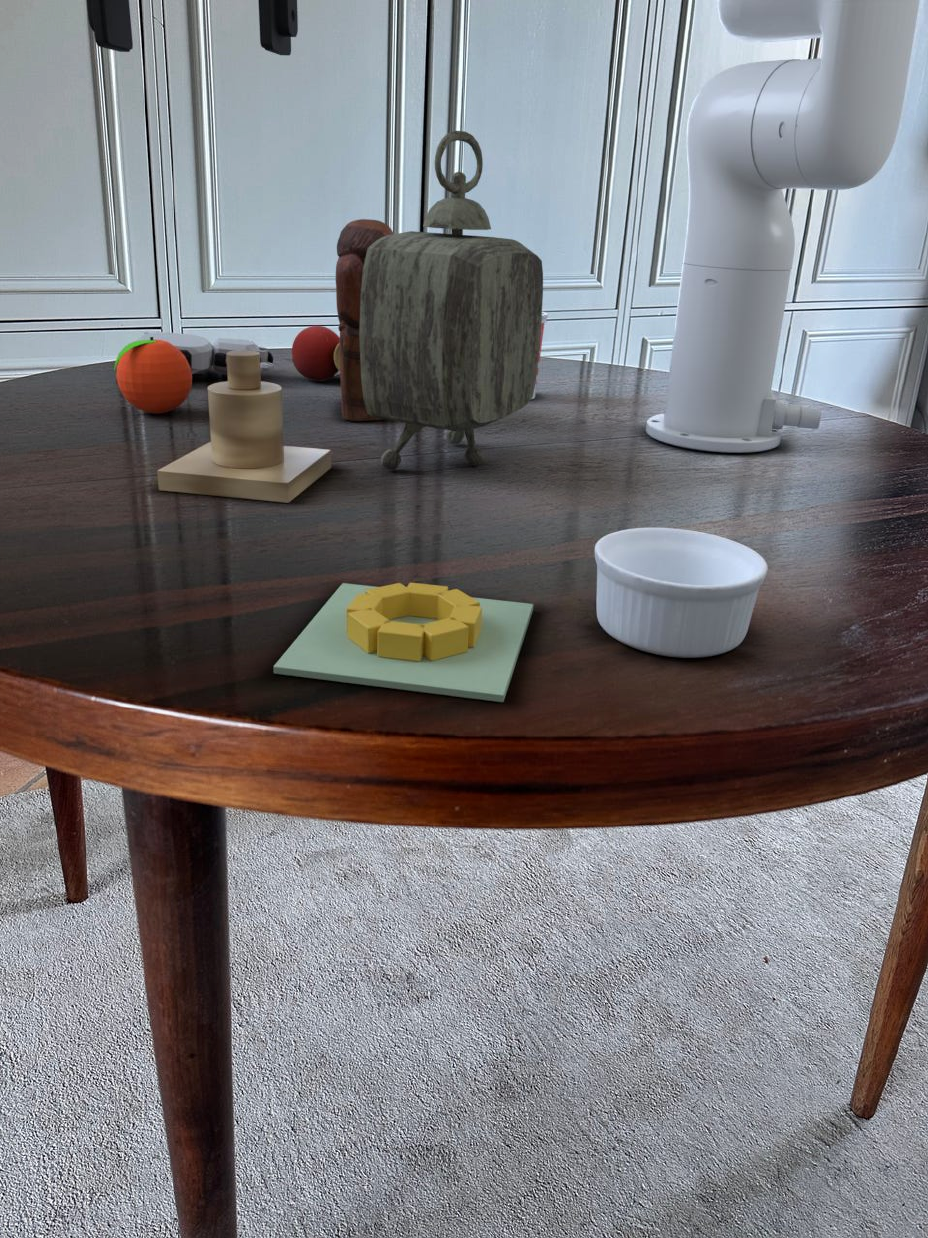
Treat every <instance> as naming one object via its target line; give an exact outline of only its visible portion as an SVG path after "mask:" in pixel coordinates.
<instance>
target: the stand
mask: <svg viewBox="0 0 928 1238" xmlns="http://www.w3.org/2000/svg"><path fill="white" fill-rule="evenodd" d="M226 356H227V374H228V375H227V380H226V381H220V382H215V383H212V384H210V385H208V386H207V388H206V389H207V402H208V403H207V404H208V405H207V406H208V417H209V418H208V419H209V433H210V441H208V442H206V443H204V444H202V445H201V446H199V447H198V448H196V449H194V450H191V452H189V453H187V454H185V455H183V456H181V457H179V458H178V459H176V460H174V461H172V462H170V463H169V464H167V465H164V466H163V467H161V468H158V470H157V471H156V472H157V473H156V474H157V485H158V490H159V491H163V492H172V493H174V492H175V493H183V494H194V495H205V496H213V497H223V498H232V499H233V498H234V499H243V500H244V499H245V500H255V501H263V502H275V503H287V504H289V503H290V502H291V501H293V500H294V499H295V498H297V497H298V496H299V495H300V494H301V493H303V492H304V491H305V490H306V489H307V488H308V487H310V486H311V485H312V484H313V483H315V482H316V481H318V480H319V478H321V477H322V476H324V474H326V473H327V472H328V471H329V470H330V469H332V450H331V449H325V448H315V447H314V448H313V447H303V446H294V445H293V446H292V445H291V446H290V445H284V444H285V443H284V442H285V441H284V414H283V410H284V409H283V388H282V386H281V385H280V384H277V383H275V382H274V383H273V382H269V381H262V372H261V368H260V353H259V352H256V351H248V350H237V351H230V352H227V354H226Z"/></svg>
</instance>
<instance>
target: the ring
mask: <svg viewBox="0 0 928 1238" xmlns="http://www.w3.org/2000/svg"><path fill="white" fill-rule="evenodd" d="M376 587H377V588H372V589H367V590H365V594H361V593H359V594H358V595H357V596H356V597H355V598H354V600H353V601H352V602H351V604H350V605H349V606H348V608H347V633H348V638H349V639H350V640H352V641H353V642H354V643H355V644H357V645H358V646H359V647H361V648H362V649H363V650H364V651H366V652H367V653H373V652H377V655H378V657H385V658H393V659H401V660H409V661H417V662H419V661H421V659H422V657H423V656H425V657H426V658H428V659H429V660H430V661H434V660H438V659H442V658H446V657H449V656H453V655H457V654H461V653H465V652H467V651H468V647H470V648H474V646H475V644H476V641H477V639H478V637H479V634H480V632H481V624H482V607H480V602H478V601H477V600H475V599H473V598H472V596H470V595H468V594H466V593H465V592H463V591H462V590H460V589H458V588H454V589H450V590H449V587H448V586H447V585H436V584H428V583H427V584H426V583H418V582H409V583H408V584H407V586H406V585H404V584H402V583H401V582H397V583H393V584H387V585H383V586H376ZM405 616H416V617H424V618H433V619H438V620H439V621H435V622H430V623H426V624H422V625H421V624H412V623H404V622H395V621H390V620H391V619H396V618H400V617H405Z"/></svg>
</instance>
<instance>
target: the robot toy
mask: <svg viewBox="0 0 928 1238" xmlns="http://www.w3.org/2000/svg"><path fill="white" fill-rule="evenodd" d="M150 337H153V340H163V341H167V342H169V343H171V344H172V345H174V346H175V347H176V348H178V349H179V350H180V351H181V352H182V353H183V355H184V356H185V357H186V359H187V361H188V363H189V365H190V368H191V373H192V375H199V374H203V373H205V372H208V371H209V370H210V369H211V368H213V369H214V371H215V372H216V373H217V374H218V375H225V376H228V374H227V356H226V354H227V352H230V351H237V350H248V351H256V352H259V353H260V368H261V373H265V372H270V371H273V370H275V365H274V355H273V354H272V353H271V352H270V351H269V350H268V348H267V347H265V346H258V345H257V344H256V343H255V342H254V341H253V340H250V339H249V340H248V339H241V338H222V337H221V338H220V337H219V338H217V339H216V340H215V341H214V342H213V344H212V343H211V342H210V341H209V339H207V338H205V337H204V336H200V335H197V334H190V333H180V332H179V333H178V332H166V331H156V332H155V331H154V332H148V331H146V332H145V331H144V332H143V335H141V336H140V337H139V338H138V339H136V341H140V340H148V339H150Z"/></svg>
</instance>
